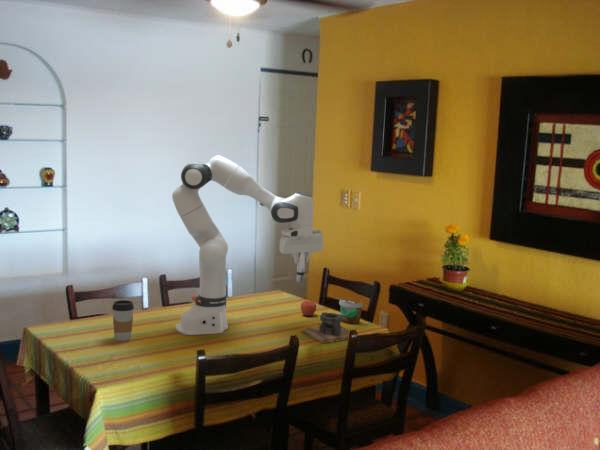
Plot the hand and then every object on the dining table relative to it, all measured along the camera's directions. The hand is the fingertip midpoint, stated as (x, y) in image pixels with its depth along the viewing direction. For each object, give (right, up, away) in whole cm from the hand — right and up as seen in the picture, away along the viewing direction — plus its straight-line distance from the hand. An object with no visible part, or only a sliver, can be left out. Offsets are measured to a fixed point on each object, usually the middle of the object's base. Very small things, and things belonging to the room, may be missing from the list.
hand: (301, 262), depth 297 cm
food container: (+21, -28, +19) cm, 40 cm away
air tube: (0, -8, +1) cm, 8 cm away
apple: (+3, -26, +27) cm, 38 cm away
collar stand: (+12, -31, -1) cm, 33 cm away
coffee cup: (-71, -30, -20) cm, 80 cm away
